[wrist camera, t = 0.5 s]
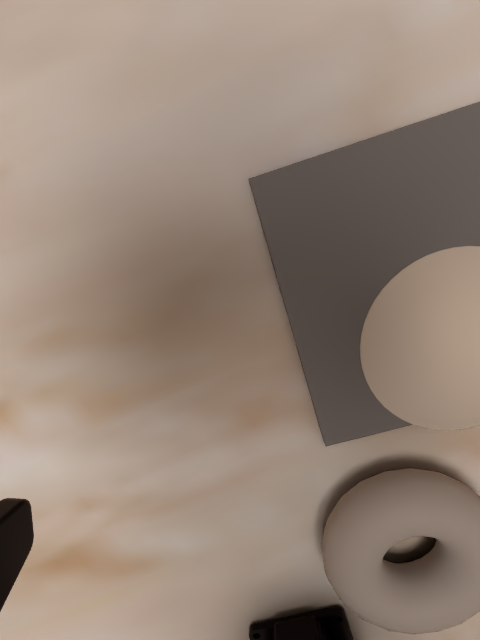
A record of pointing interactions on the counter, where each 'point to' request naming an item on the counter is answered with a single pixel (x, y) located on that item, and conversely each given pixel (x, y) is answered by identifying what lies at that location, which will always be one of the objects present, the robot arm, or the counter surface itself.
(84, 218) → the counter surface
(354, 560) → the donut
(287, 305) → the kitchen scale
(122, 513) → the counter surface
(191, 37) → the counter surface
